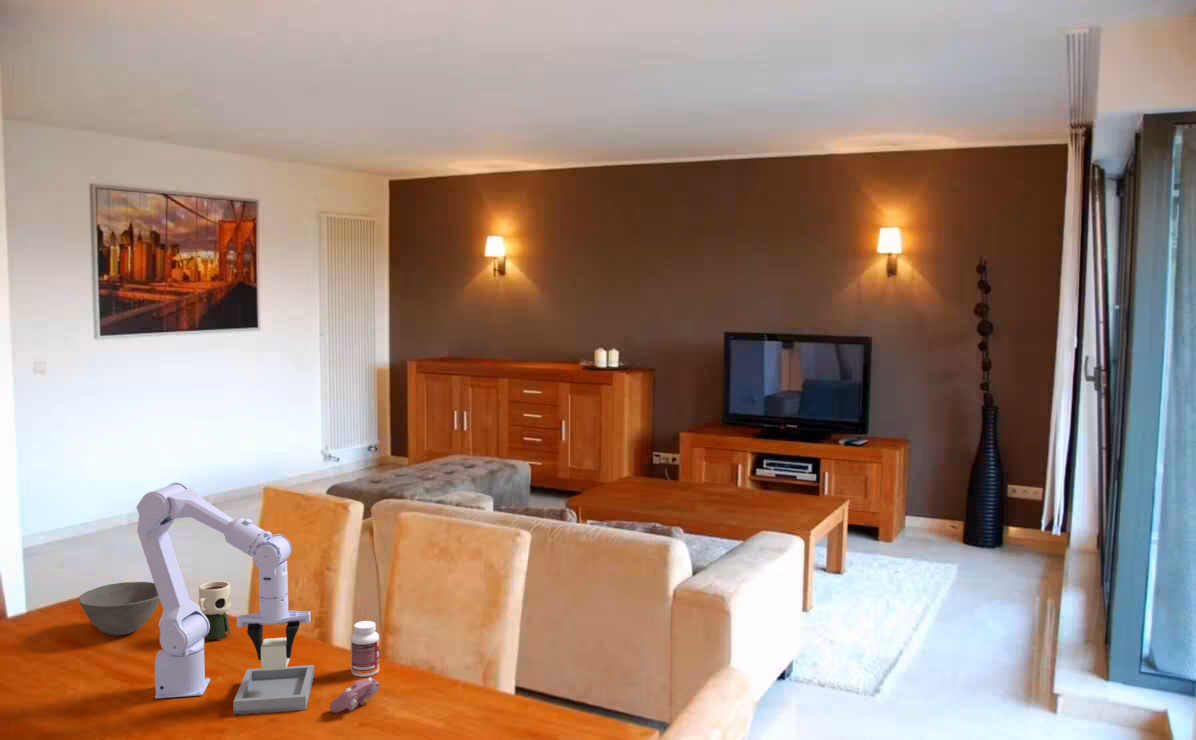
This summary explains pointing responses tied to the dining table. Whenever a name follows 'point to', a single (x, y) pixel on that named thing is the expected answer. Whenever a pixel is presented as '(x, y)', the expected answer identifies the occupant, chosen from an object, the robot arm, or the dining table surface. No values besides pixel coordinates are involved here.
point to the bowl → (120, 606)
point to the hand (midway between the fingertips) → (274, 657)
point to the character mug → (215, 607)
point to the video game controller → (355, 695)
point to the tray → (274, 690)
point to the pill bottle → (364, 649)
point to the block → (274, 654)
